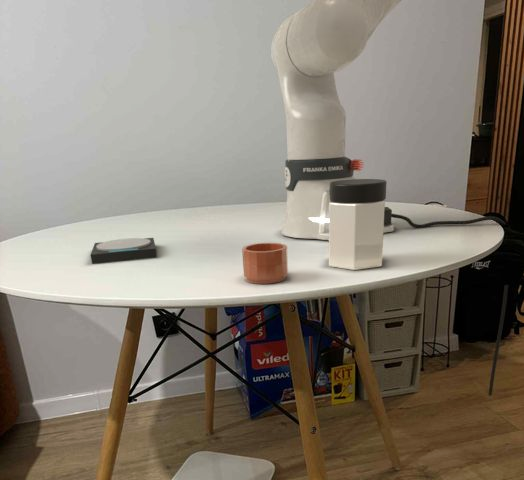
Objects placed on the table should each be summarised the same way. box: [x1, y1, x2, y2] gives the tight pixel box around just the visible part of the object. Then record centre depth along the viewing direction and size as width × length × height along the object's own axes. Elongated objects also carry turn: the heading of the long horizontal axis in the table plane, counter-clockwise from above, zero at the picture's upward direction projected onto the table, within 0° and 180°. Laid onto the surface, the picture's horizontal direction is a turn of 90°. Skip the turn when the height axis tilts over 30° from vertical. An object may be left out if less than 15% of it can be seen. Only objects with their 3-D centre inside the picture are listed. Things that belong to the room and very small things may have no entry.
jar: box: [328, 178, 387, 271], centre depth 75 cm, size 9×8×12 cm
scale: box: [90, 237, 158, 265], centre depth 91 cm, size 11×11×2 cm
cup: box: [241, 242, 289, 285], centre depth 71 cm, size 6×6×4 cm
